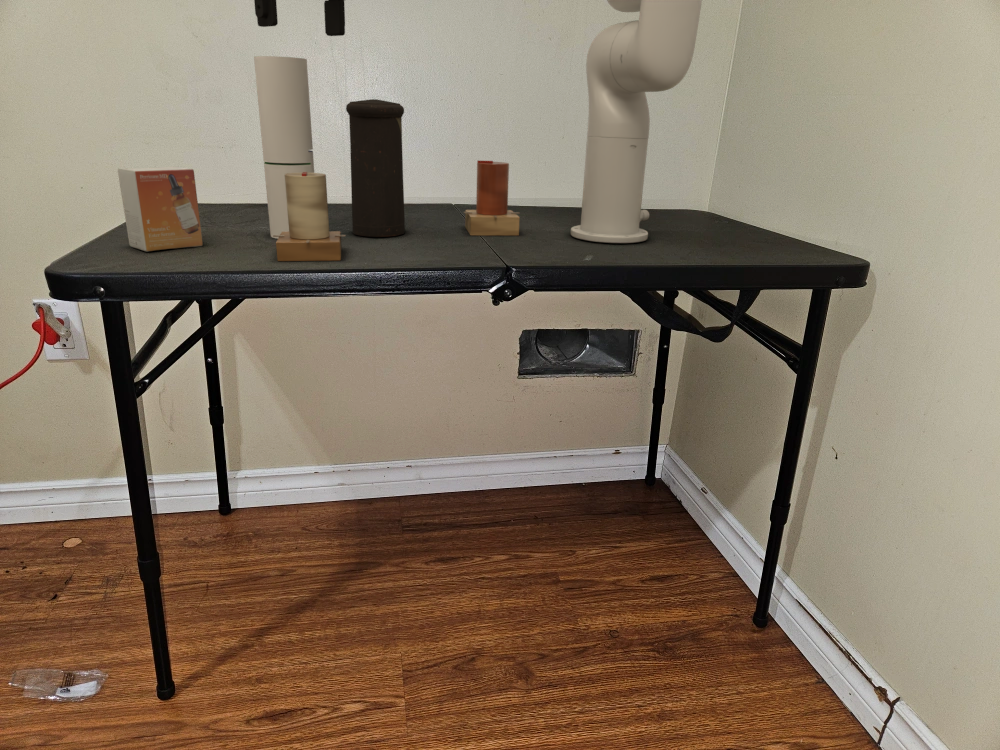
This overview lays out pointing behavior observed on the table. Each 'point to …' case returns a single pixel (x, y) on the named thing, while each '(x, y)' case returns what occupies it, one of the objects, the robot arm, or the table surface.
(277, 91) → the cylindrical container
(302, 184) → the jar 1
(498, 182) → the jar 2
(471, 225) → the base
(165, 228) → the small box
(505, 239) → the table surface
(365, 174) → the container
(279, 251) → the base
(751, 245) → the table surface
